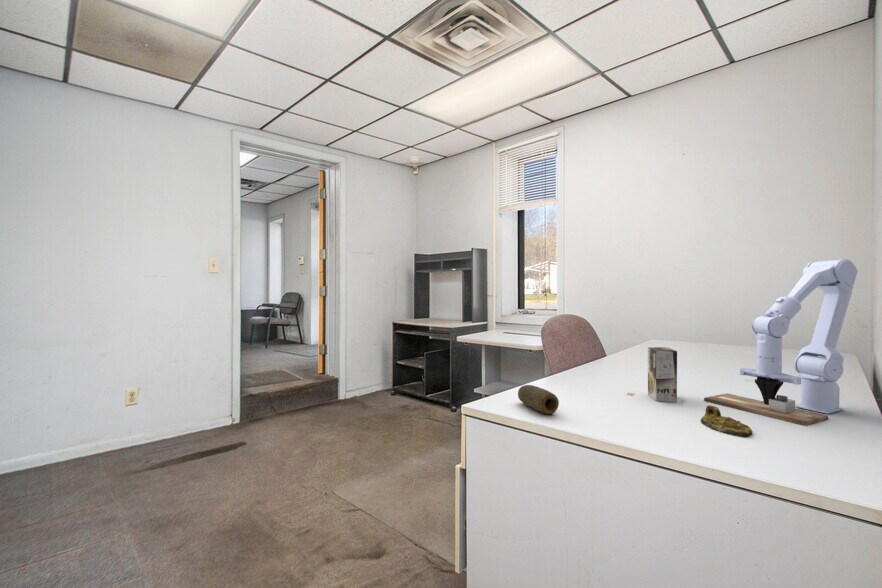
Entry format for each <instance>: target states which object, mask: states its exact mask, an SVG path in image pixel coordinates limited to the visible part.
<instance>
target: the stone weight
mask: <svg viewBox="0 0 882 588" xmlns="http://www.w3.org/2000/svg"><path fill="white" fill-rule="evenodd" d="M517 397H518V399H519V401H520V402H521V403H523V404H524V405H526V406H527V407H529V408H531V409H533V410H535V411H537V412H540V413H542V414H545V415H553V414H554V413H555V412H556V411H557V410H558V408H559V405H560V404H559V403H560V401H559V398H558V397H557V395H556V394H554V393H553V392H552V391H549V390H547V389H544V388H542V387H539V386H535V385H532V384H525V385H522V386H521V387H519V388H518V391H517Z"/></svg>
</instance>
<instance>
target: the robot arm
mask: <svg viewBox="0 0 882 588" xmlns="http://www.w3.org/2000/svg"><path fill="white" fill-rule="evenodd" d="M857 275H858V268H857V267H856V265H855V263H854V262H853V261H852V260H850V259H847V258H842V259H834V260H833V259H832V260H831V259H830V260H819V261H818V260H813V261H809V262H808V263H807V264H806V266H805V267H804V268H803V269H802V276H801V278H800V279H799V280H798V281H797V282H796V284H795V285H794V286H793V288H791V291H790V292H789V293H788V294H787V296H785V295H784V296H781V297H778V298H776V300H775V302H774V303H773V305H772V306H771V307H770V308H769V309H768V310H767V311H765V313H764V314H763V315H760V316H757V317H756V318H755V319H754V320H753V323H752V324H751V327H750V328H751V330H752V332H753V334H754V339H755V340H756V368H755V369H754V368H746V367H743V368H739V375H740V376H748V377H753V378H756V379H754V383H755V384H756V387H758V390H759V391H760V393H761V396H762V399H763V400H762V401H764V404H766V405H769V399H772V398H776V397H777V395H778V392H779V391H780V388H781V387H782V386H783V384H784V383H788V384H793V385H796V386H798V385H800V386H801V387H800V389H801V390H800V403H797V404H795V408H797V409H802V410H804V409H805V410H806V411H811V412H816V413H820V414H825V415H828V414H829V415H830V414H832V413H837V412H839V411H844V408H843V407H841V406H840V386H839V384H838V383H837V382H838V380H839V379H840V378H841V377H842V375H843V373H844V363H843V362H844V360H845V357H844V356H843V355H842V354H841V353H840V352H839V351H837V350H836V349H837V345H838V342H839V337H840V335H841V331H842V327H843V324H844V321H845V317H846V314H847V311H848V307H849V303H850V301H851V296H852V292H853V289H854V285H855V281H856V279H857ZM816 289H818V290H820V291H823V293H824V294H825V295H824V297H823V301H822V304H821V309H820V311H819V313H818V314H819V315H818V318H817V321H816V325H815V328H814V331H813V333H812V334H813V335H812V339H811V342H810V343H809V344H807V345H806V346H804V347H802V348H801V349H800V350H799V353H798V355H797V356H796V357H795V359H794V361H793V368H794V370H795V372H797V373H798V376H797V375H791V374H787V373H783V370H782V369H783V336H785V335H786V334H788V332H789V326H790V324H791V321H792V320H793V319H794V317H795V316H796V315H797V314H798V313H799V312H800V310H801V309H802V304H801V303H802V302H803V301H804V300H805V299H806V298H807V297H808V296H809V295H810V294H811V293H812V292H813V291H815V290H816Z"/></svg>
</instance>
